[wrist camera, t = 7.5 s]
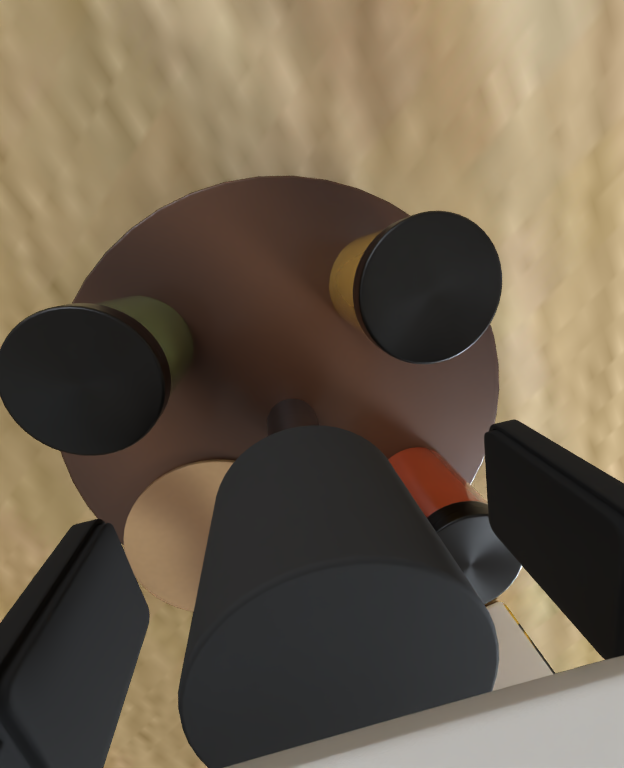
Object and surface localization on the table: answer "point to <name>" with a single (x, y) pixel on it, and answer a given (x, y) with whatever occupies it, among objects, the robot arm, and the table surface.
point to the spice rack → (288, 449)
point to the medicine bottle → (515, 650)
